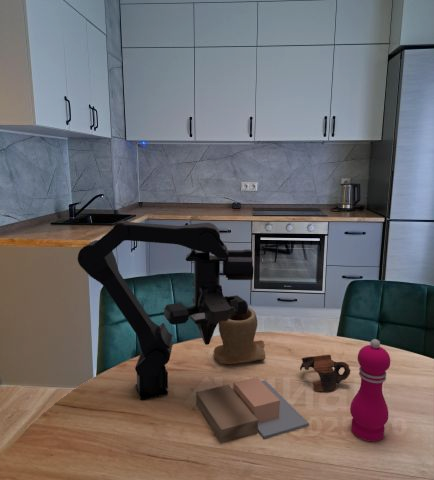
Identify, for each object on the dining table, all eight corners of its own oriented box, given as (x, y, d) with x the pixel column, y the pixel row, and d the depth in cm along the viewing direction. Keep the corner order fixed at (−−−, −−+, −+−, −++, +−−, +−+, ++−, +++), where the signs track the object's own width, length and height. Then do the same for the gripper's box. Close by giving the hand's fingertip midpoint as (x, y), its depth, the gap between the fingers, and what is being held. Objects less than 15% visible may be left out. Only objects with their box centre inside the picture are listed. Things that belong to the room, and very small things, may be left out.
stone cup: (219, 372, 103) (220, 318, 100) (210, 351, 115) (211, 302, 112) (274, 367, 106) (277, 314, 103) (261, 347, 118) (262, 299, 115)
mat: (263, 439, 78) (263, 436, 78) (226, 391, 95) (226, 389, 94) (308, 425, 83) (309, 423, 82) (265, 382, 99) (265, 380, 99)
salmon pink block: (254, 406, 81) (279, 400, 83) (233, 382, 90) (257, 377, 92) (254, 424, 82) (279, 417, 84) (233, 398, 91) (256, 392, 93)
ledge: (221, 443, 77) (221, 429, 76) (196, 404, 90) (196, 391, 89) (257, 433, 80) (258, 419, 79) (228, 396, 93) (228, 384, 92)
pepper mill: (382, 448, 76) (392, 351, 72) (344, 434, 80) (351, 341, 76) (389, 427, 82) (398, 337, 78) (353, 416, 86) (360, 329, 82)
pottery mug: (302, 393, 95) (296, 358, 98) (306, 391, 104) (300, 358, 106) (354, 388, 92) (346, 351, 95) (354, 386, 100) (347, 352, 103)
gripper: (178, 295, 79) (178, 367, 82) (260, 284, 86) (258, 352, 89) (162, 280, 89) (164, 345, 92) (238, 272, 96) (236, 332, 99)
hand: (206, 344), depth 92 cm, fingers closed
